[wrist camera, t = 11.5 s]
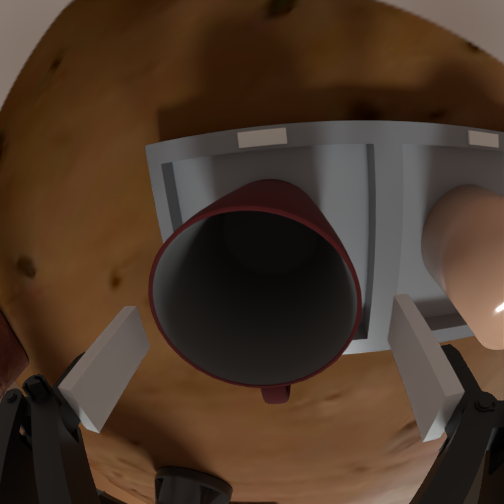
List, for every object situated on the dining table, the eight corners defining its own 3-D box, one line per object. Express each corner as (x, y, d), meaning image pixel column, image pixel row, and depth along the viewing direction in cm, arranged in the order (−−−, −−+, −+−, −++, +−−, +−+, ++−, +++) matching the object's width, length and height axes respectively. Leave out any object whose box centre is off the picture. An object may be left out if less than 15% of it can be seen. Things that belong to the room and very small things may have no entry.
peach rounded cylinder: (415, 290, 22) (457, 361, 14) (423, 183, 19) (491, 218, 11) (492, 280, 21) (543, 335, 13) (506, 185, 17) (576, 217, 9)
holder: (200, 338, 28) (192, 357, 25) (160, 143, 21) (143, 145, 18) (502, 312, 22) (514, 326, 20) (526, 137, 16) (545, 141, 13)
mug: (338, 308, 24) (357, 415, 14) (234, 318, 25) (202, 421, 15) (322, 159, 19) (355, 188, 9) (200, 180, 21) (121, 227, 11)
